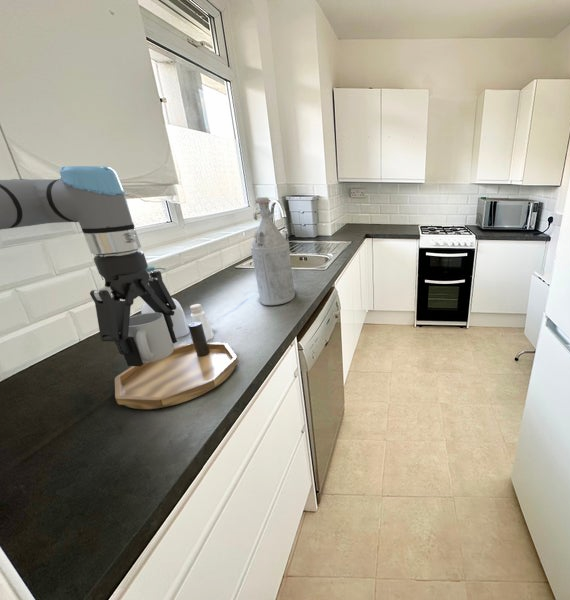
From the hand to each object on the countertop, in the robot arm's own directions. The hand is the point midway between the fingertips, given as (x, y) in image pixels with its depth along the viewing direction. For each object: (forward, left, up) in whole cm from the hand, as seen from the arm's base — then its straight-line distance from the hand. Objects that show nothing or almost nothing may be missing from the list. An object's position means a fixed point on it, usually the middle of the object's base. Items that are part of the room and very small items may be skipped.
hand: (154, 353), depth 69 cm
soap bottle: (-19, +25, -10) cm, 33 cm away
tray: (0, +5, -10) cm, 11 cm away
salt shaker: (-8, +25, -10) cm, 28 cm away
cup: (0, 0, -1) cm, 1 cm away
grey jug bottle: (+1, +58, -10) cm, 59 cm away
